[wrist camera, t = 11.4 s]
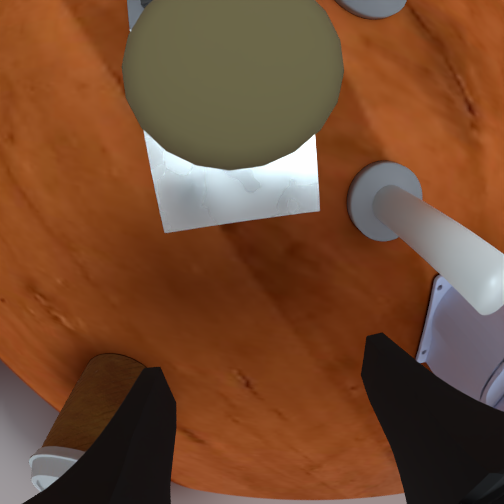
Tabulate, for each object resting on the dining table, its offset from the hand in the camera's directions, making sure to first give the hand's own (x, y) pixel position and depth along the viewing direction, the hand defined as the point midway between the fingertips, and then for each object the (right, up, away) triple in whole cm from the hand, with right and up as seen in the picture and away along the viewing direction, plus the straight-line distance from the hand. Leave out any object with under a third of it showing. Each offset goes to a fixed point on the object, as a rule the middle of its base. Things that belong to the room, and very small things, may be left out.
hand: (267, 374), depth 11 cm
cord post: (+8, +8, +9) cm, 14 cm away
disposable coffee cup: (-12, -6, +14) cm, 19 cm away
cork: (-2, +13, +5) cm, 14 cm away
